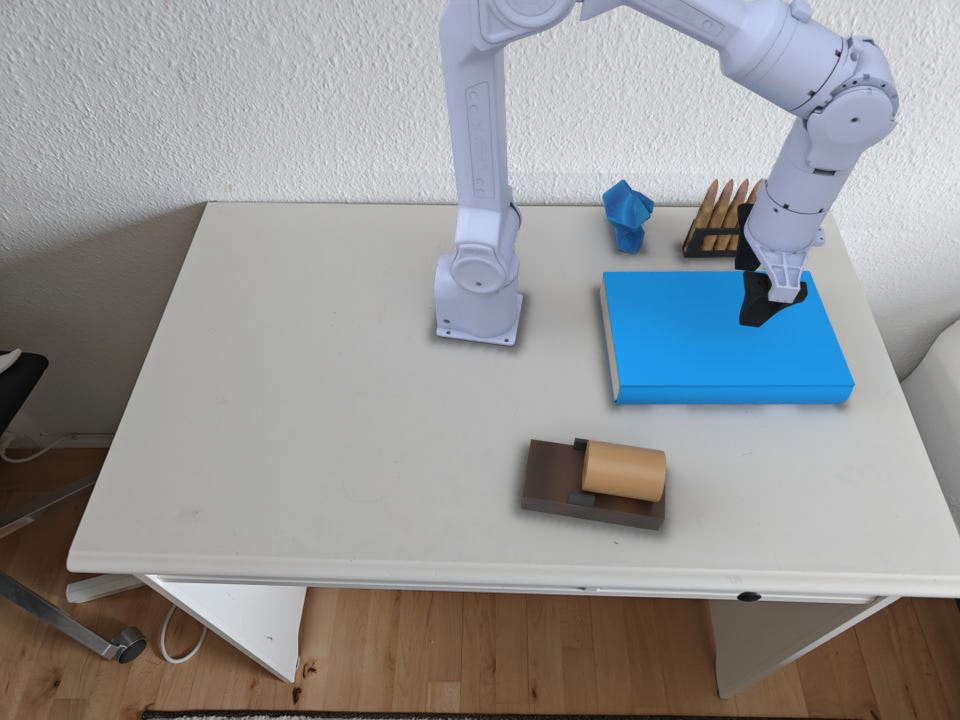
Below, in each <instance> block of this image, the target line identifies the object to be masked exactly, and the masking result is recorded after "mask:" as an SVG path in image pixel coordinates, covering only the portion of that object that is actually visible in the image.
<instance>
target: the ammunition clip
mask: <svg viewBox="0 0 960 720" xmlns="http://www.w3.org/2000/svg"><path fill="white" fill-rule="evenodd" d="M762 179H764V178H760V179H758V181H757V182H756V183H755V184H754V186H753V188H752V189H751V191H750V193H749V195H748V191H749V186H750V180H749V178H746V179H744V180H743V181H742V182H741V184H740V185H739V186H738V189H737V190H736V192H735V195H734V196H733V199H732V201H731V198H732V195H733V190H734V184H735V181H734V179H733V178H731V179H729V180H728V181H727V182H726V184H725V185H724V188H723V189H722V190H721V193H720V195H719V197H718V199H717V202H716V203H715V201H716V198H717V195H718V191H719V180H718V178H716V179H714V180H713V181H712V183H711V184H710V186H708V189H707V191H706V193H705V195H704V198H703V200H702V202H701V204H700V205H699V207H698V210H697V212H696V216H695V217H694V218H693V220H692V222H691V224H690V227H689V229H688V231H687V234H686V237H685V239H684V241H683V244H682V245H681V250H682V255H683V258H685V259H699V258H700V259H703V258H704V259H706V258H707V259H708V258H709V259H710V258H735V255H736V249H737V244H738V237H739V222H738V215H737V207H738V206H739V205H740V204H743V203H750V204H755V202H756V200H757V198H756V192H757V190H758V188H759V185H760V183H761V181H762ZM747 195H748V197H747ZM746 197H747V199H746ZM745 200H746V201H745Z"/></svg>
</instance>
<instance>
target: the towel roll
mask: <svg viewBox="0 0 960 720" xmlns="http://www.w3.org/2000/svg"><path fill="white" fill-rule="evenodd" d="M587 440H588V443H587V447H586V452H585V459H584V466H583V476H582V490H583V491H590V492H596V493H603V494H609V495H615V496H622V497H628V498H635V499H641V500H647V501H654V502H659V500H660V499H661V496H662V493H663V489H664V483H665V484H666V475H667V457H666V452H665V451H664V450H661V449H654V448H647V447H640V446H633V445H627V444H620V443H615V442H614V443H613V442H607V441H600V440H593V439H587Z"/></svg>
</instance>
